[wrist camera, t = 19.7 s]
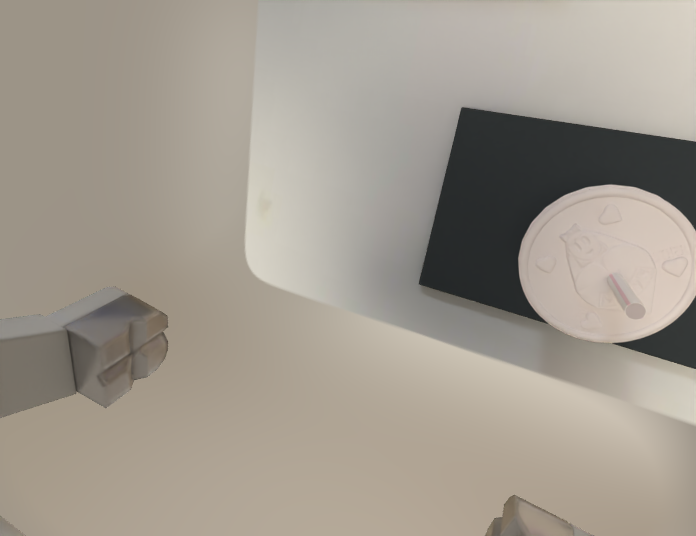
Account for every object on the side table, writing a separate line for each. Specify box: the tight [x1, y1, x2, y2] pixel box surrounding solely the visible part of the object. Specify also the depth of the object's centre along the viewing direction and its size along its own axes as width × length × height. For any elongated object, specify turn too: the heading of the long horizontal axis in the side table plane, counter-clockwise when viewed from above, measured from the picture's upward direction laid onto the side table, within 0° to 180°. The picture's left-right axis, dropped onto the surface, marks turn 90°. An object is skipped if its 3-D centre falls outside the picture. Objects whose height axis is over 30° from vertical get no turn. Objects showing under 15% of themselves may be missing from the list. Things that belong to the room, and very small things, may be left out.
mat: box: [419, 107, 696, 369], centre depth 26 cm, size 18×12×1 cm, turn 79°
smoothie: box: [518, 184, 696, 343], centre depth 19 cm, size 6×6×14 cm
